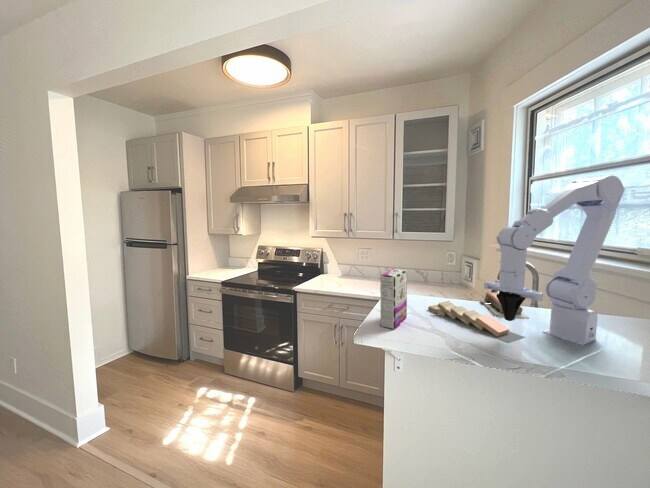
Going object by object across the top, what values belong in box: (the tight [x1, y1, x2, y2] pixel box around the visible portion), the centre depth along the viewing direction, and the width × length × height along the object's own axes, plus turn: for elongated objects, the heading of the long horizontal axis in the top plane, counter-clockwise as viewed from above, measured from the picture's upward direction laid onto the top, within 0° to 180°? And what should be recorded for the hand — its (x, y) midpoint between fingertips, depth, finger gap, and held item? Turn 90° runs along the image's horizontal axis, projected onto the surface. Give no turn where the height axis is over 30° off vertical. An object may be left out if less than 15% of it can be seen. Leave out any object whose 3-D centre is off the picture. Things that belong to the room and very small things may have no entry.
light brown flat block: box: [462, 309, 486, 331], centre depth 88 cm, size 1×5×7 cm
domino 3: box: [450, 305, 472, 325], centre depth 92 cm, size 1×5×7 cm
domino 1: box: [427, 304, 448, 316], centre depth 100 cm, size 1×5×7 cm
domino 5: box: [476, 314, 510, 336], centre depth 84 cm, size 1×5×7 cm
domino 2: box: [437, 300, 458, 320], centre depth 97 cm, size 1×5×7 cm
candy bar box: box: [379, 268, 408, 330], centre depth 91 cm, size 11×5×16 cm, turn 146°
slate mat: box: [436, 314, 526, 344], centre depth 89 cm, size 24×8×1 cm, turn 27°
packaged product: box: [480, 291, 530, 319], centre depth 103 cm, size 18×5×10 cm
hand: (509, 319), depth 80 cm, fingers closed
